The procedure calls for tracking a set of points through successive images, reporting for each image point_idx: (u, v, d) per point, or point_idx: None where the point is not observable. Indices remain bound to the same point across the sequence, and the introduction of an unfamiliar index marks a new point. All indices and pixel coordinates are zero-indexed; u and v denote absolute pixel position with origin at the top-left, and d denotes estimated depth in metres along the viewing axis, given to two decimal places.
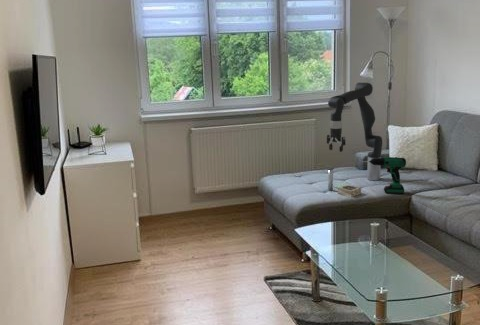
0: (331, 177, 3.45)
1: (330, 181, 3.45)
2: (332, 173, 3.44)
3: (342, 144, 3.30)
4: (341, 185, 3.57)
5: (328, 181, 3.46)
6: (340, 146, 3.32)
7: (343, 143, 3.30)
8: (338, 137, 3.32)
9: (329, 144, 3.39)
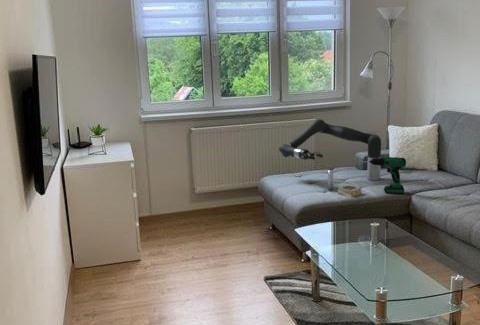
0: (331, 177, 3.45)
1: (330, 181, 3.45)
2: (332, 173, 3.44)
3: None
4: (341, 185, 3.57)
5: (328, 181, 3.46)
6: (310, 158, 3.51)
7: (305, 158, 3.51)
8: None
9: (318, 156, 3.57)
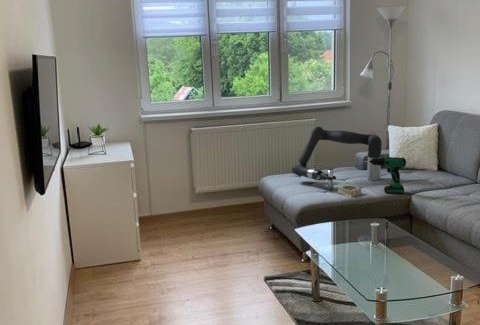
0: None
1: (330, 181, 3.45)
2: (332, 173, 3.44)
3: None
4: (341, 185, 3.57)
5: (328, 181, 3.46)
6: None
7: (322, 179, 3.45)
8: None
9: None
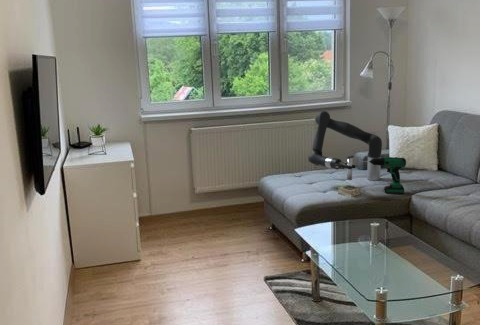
0: None
1: (349, 170, 3.34)
2: (351, 162, 3.33)
3: (343, 168, 3.34)
4: (341, 185, 3.57)
5: (347, 170, 3.35)
6: None
7: (341, 168, 3.34)
8: None
9: None
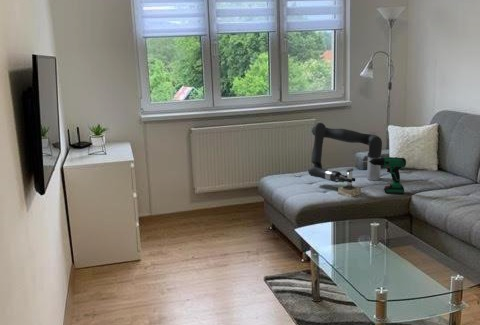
0: None
1: (349, 183, 3.36)
2: (351, 175, 3.35)
3: (343, 181, 3.36)
4: (341, 185, 3.57)
5: (347, 183, 3.37)
6: None
7: (341, 181, 3.36)
8: None
9: None
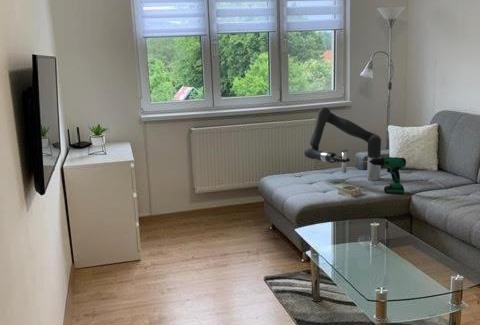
0: None
1: (344, 163, 3.49)
2: (346, 155, 3.48)
3: None
4: (341, 185, 3.57)
5: (342, 163, 3.50)
6: None
7: (336, 161, 3.49)
8: None
9: None
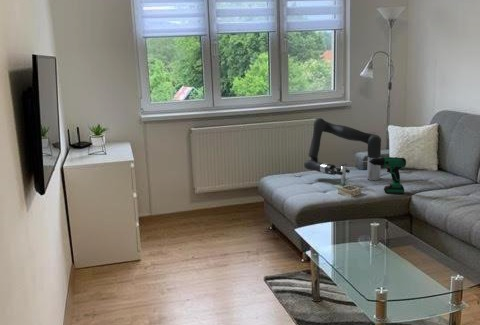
0: (344, 173, 3.52)
1: (343, 177, 3.53)
2: (345, 169, 3.51)
3: (333, 174, 3.52)
4: None
5: (341, 177, 3.54)
6: (337, 173, 3.52)
7: (332, 174, 3.52)
8: None
9: None
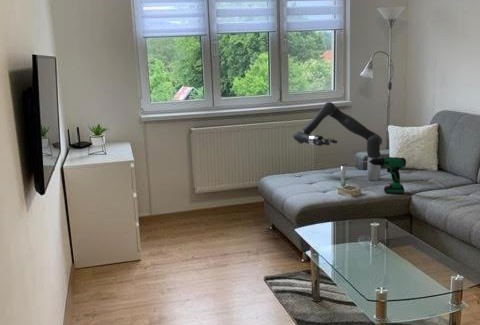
0: (344, 173, 3.52)
1: (343, 177, 3.53)
2: (345, 169, 3.52)
3: (321, 144, 3.60)
4: None
5: (341, 177, 3.54)
6: None
7: (320, 144, 3.60)
8: (319, 143, 3.65)
9: (332, 142, 3.66)
